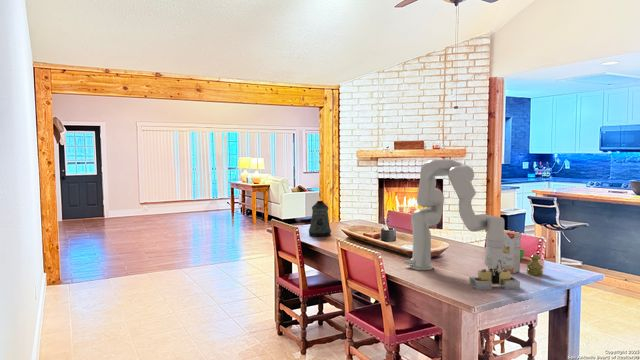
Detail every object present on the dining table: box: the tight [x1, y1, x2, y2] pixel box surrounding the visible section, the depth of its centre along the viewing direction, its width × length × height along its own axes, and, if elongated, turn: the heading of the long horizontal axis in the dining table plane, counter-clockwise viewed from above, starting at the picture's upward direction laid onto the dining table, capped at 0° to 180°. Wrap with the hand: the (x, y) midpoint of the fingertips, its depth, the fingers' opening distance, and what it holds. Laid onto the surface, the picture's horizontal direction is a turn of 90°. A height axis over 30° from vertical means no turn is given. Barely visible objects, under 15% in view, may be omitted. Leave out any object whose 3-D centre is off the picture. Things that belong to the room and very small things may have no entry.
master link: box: [477, 268, 512, 286], centre depth 213 cm, size 14×3×7 cm, turn 93°
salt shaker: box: [526, 253, 544, 277], centre depth 233 cm, size 7×7×10 cm
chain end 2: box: [498, 275, 521, 290], centre depth 214 cm, size 7×9×4 cm
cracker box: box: [496, 229, 522, 274], centre depth 240 cm, size 14×6×21 cm, turn 33°
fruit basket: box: [520, 244, 526, 260], centre depth 264 cm, size 11×9×11 cm
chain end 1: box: [468, 276, 493, 291], centre depth 213 cm, size 7×9×4 cm
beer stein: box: [308, 200, 332, 238], centre depth 338 cm, size 16×19×25 cm
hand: (493, 282), depth 213 cm, fingers closed on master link, 3 cm apart
